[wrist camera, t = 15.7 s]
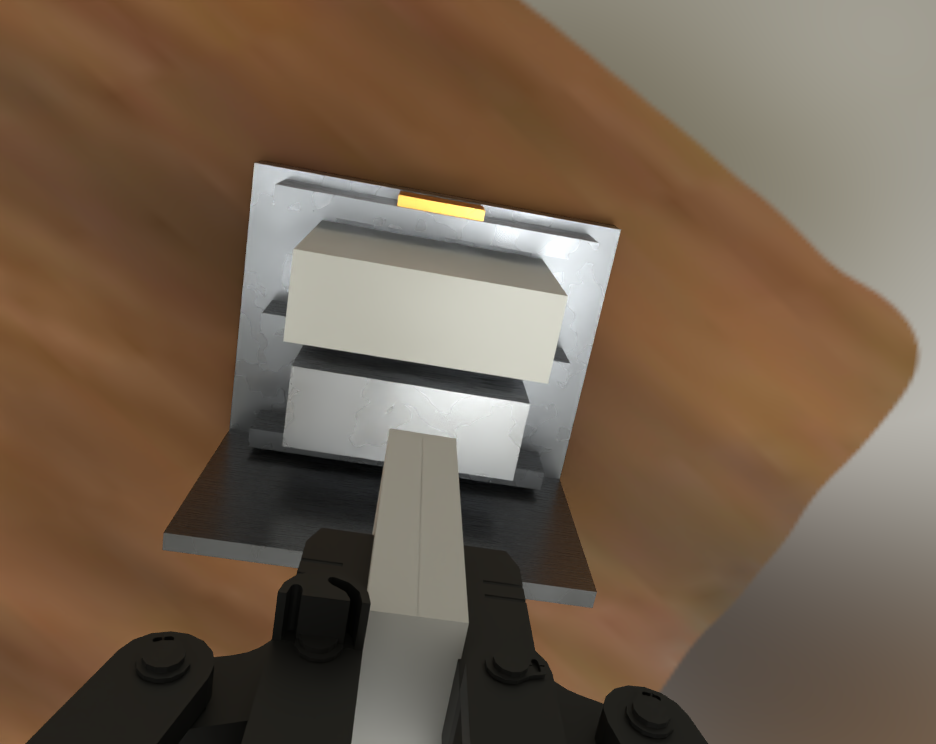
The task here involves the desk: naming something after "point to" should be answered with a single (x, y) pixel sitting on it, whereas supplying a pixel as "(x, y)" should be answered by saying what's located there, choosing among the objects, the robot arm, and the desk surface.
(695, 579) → the desk surface
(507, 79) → the desk surface
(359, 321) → the beige rectangular block
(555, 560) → the rack
